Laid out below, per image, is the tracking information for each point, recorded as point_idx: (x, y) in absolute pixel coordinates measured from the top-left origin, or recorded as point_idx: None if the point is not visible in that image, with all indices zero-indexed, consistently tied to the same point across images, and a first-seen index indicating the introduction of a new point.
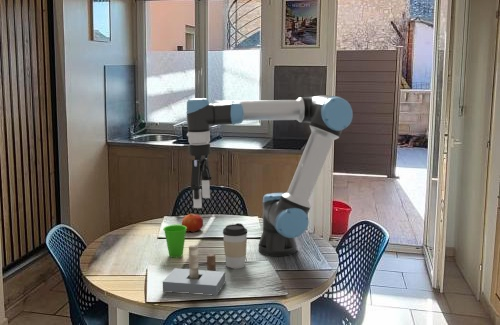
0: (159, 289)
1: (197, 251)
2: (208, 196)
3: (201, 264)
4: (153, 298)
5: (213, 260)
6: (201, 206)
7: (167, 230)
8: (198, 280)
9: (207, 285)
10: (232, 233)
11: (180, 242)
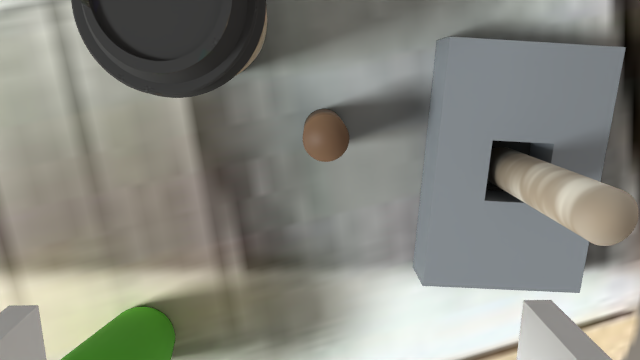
0: (532, 293)
1: (600, 182)
2: (26, 333)
3: (240, 193)
4: (616, 290)
5: (341, 120)
6: (552, 309)
7: None
8: (565, 143)
9: (615, 90)
10: (257, 4)
11: (146, 345)
